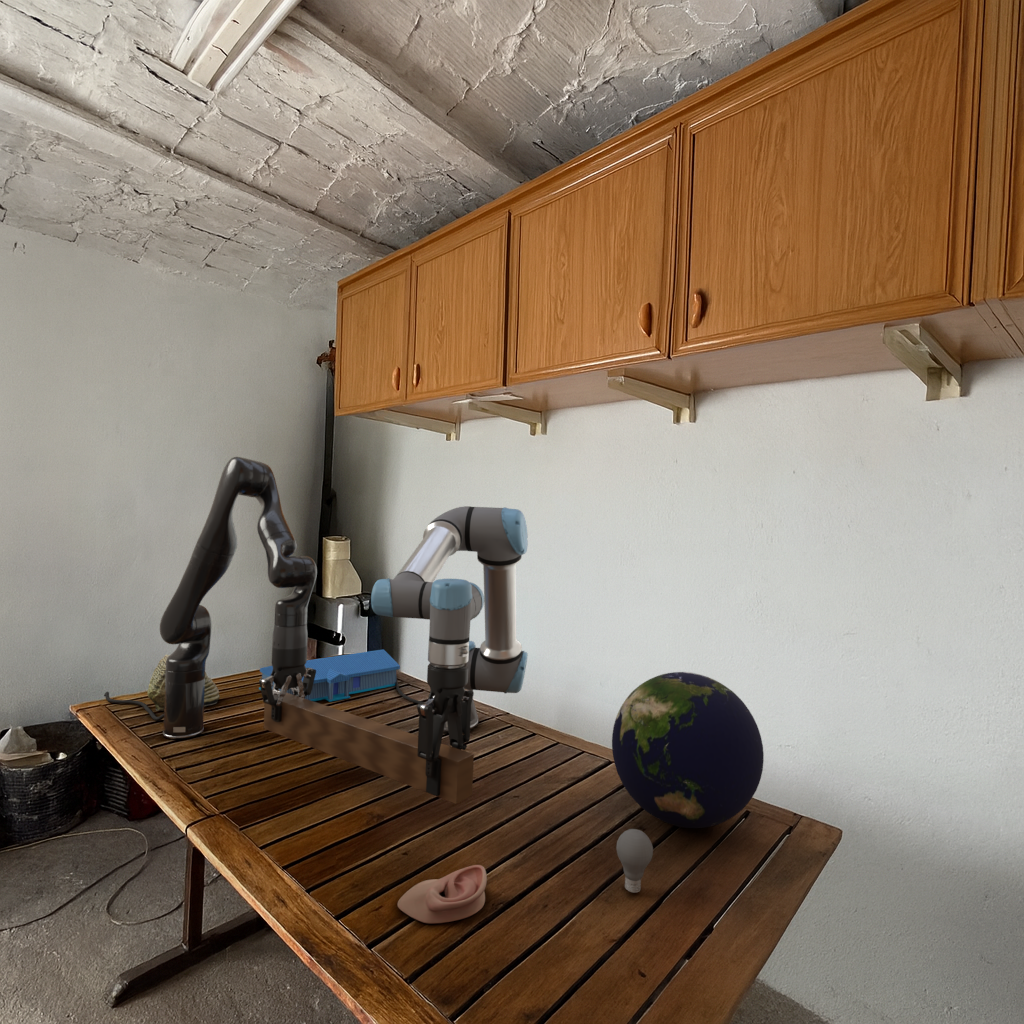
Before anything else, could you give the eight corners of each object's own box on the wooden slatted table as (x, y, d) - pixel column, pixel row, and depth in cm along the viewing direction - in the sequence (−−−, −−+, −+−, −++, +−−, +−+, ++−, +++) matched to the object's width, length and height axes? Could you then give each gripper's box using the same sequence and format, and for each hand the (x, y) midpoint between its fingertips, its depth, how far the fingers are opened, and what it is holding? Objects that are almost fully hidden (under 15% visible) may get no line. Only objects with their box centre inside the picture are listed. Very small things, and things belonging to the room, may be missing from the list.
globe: (592, 836, 122) (599, 682, 122) (625, 776, 150) (631, 650, 149) (758, 877, 111) (767, 707, 110) (760, 804, 139) (767, 668, 138)
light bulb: (610, 879, 108) (613, 822, 108) (644, 879, 109) (647, 822, 109) (619, 902, 102) (622, 840, 102) (655, 901, 103) (658, 840, 103)
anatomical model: (390, 891, 96) (416, 850, 108) (389, 917, 96) (415, 874, 108) (474, 906, 94) (492, 863, 105) (473, 932, 94) (491, 887, 105)
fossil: (144, 707, 182) (145, 655, 182) (212, 696, 194) (213, 647, 194) (151, 716, 175) (153, 662, 175) (221, 703, 188) (223, 653, 188)
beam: (263, 728, 145) (264, 695, 145) (281, 723, 149) (282, 691, 149) (456, 804, 113) (457, 761, 113) (472, 794, 117) (473, 753, 116)
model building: (289, 709, 186) (291, 675, 185) (258, 688, 204) (259, 657, 204) (403, 687, 212) (405, 657, 212) (366, 670, 230) (368, 643, 230)
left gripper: (272, 652, 136) (269, 731, 136) (326, 641, 148) (323, 714, 148) (251, 646, 140) (248, 722, 140) (305, 636, 152) (302, 707, 152)
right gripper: (431, 677, 108) (425, 812, 108) (492, 658, 122) (487, 777, 123) (399, 668, 112) (393, 799, 112) (462, 651, 127) (457, 767, 127)
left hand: (287, 717), depth 144 cm, fingers closed on beam, 4 cm apart
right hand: (442, 787), depth 118 cm, fingers closed on beam, 5 cm apart
